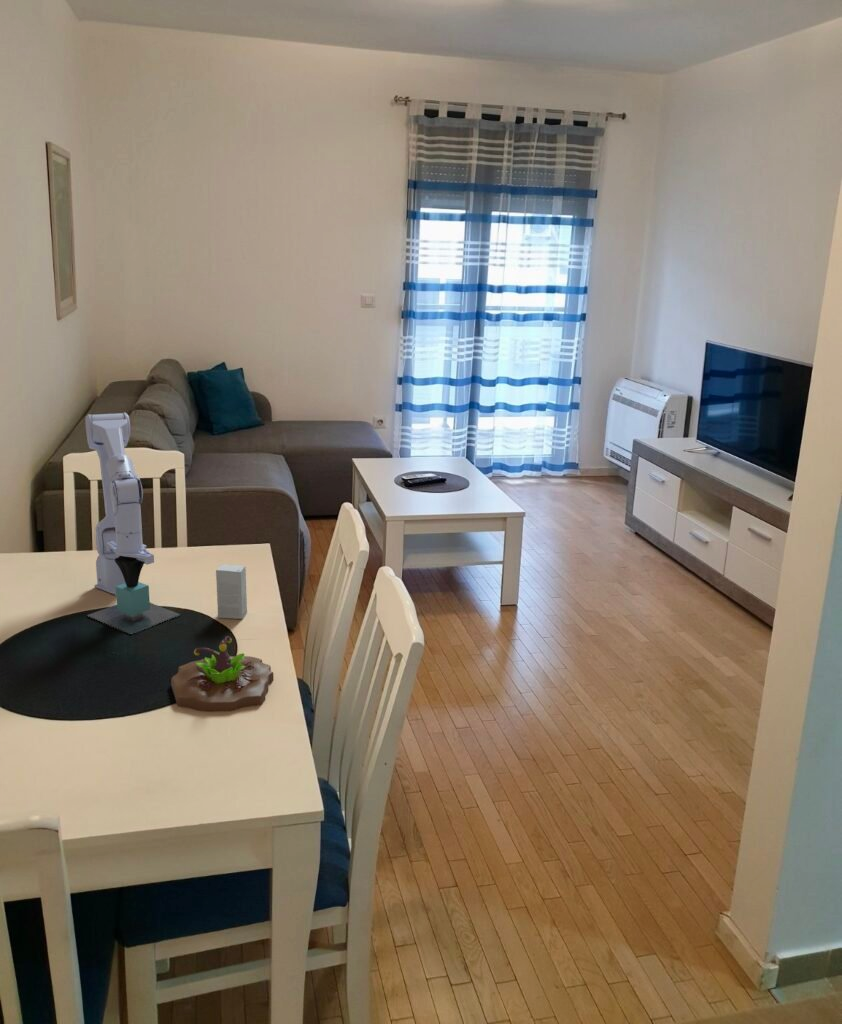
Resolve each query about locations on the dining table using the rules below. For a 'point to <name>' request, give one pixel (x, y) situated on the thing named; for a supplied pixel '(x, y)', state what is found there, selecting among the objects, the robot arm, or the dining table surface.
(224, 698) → the plant
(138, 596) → the teal box
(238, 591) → the skincare box
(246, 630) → the dining table surface
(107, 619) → the dark grey square tile
